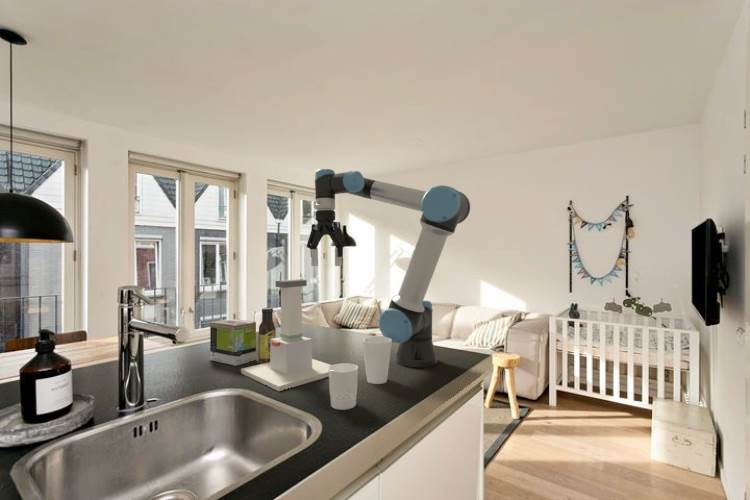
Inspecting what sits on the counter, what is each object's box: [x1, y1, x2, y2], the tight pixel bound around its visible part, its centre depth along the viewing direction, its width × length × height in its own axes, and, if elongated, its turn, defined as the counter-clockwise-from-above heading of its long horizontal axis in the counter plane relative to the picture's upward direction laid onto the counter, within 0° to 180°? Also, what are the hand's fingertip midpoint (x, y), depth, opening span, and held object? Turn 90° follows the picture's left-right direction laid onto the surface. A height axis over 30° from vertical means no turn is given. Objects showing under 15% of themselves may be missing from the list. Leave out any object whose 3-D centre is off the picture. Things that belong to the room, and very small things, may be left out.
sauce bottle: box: [257, 307, 277, 364], centre depth 141 cm, size 7×6×20 cm
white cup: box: [328, 362, 359, 411], centre depth 101 cm, size 8×8×10 cm
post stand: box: [240, 336, 332, 392], centre depth 128 cm, size 24×24×12 cm
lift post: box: [275, 279, 308, 342], centre depth 128 cm, size 5×9×22 cm, turn 135°
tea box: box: [209, 318, 257, 367], centre depth 143 cm, size 15×10×15 cm, turn 58°
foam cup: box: [361, 335, 393, 385], centre depth 120 cm, size 10×9×13 cm
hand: (326, 266), depth 144 cm, fingers open, 13 cm apart
